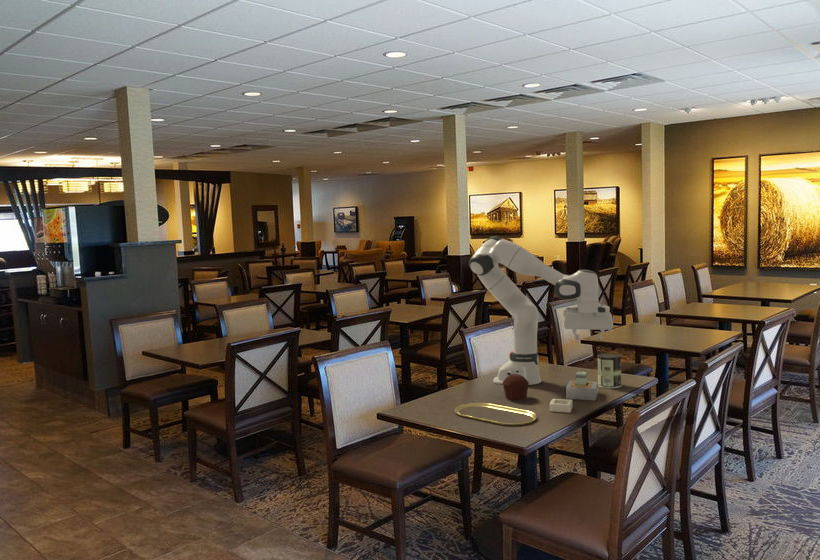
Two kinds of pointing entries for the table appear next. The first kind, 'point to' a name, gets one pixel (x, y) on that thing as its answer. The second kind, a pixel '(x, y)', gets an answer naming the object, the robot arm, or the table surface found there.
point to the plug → (581, 378)
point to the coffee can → (609, 370)
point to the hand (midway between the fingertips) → (588, 339)
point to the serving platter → (496, 408)
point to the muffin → (515, 387)
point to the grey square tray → (561, 405)
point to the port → (582, 391)
